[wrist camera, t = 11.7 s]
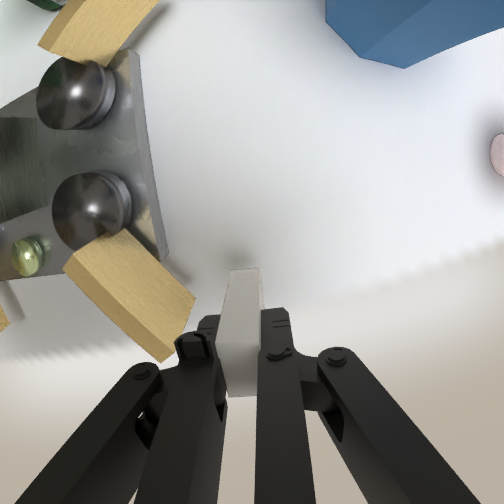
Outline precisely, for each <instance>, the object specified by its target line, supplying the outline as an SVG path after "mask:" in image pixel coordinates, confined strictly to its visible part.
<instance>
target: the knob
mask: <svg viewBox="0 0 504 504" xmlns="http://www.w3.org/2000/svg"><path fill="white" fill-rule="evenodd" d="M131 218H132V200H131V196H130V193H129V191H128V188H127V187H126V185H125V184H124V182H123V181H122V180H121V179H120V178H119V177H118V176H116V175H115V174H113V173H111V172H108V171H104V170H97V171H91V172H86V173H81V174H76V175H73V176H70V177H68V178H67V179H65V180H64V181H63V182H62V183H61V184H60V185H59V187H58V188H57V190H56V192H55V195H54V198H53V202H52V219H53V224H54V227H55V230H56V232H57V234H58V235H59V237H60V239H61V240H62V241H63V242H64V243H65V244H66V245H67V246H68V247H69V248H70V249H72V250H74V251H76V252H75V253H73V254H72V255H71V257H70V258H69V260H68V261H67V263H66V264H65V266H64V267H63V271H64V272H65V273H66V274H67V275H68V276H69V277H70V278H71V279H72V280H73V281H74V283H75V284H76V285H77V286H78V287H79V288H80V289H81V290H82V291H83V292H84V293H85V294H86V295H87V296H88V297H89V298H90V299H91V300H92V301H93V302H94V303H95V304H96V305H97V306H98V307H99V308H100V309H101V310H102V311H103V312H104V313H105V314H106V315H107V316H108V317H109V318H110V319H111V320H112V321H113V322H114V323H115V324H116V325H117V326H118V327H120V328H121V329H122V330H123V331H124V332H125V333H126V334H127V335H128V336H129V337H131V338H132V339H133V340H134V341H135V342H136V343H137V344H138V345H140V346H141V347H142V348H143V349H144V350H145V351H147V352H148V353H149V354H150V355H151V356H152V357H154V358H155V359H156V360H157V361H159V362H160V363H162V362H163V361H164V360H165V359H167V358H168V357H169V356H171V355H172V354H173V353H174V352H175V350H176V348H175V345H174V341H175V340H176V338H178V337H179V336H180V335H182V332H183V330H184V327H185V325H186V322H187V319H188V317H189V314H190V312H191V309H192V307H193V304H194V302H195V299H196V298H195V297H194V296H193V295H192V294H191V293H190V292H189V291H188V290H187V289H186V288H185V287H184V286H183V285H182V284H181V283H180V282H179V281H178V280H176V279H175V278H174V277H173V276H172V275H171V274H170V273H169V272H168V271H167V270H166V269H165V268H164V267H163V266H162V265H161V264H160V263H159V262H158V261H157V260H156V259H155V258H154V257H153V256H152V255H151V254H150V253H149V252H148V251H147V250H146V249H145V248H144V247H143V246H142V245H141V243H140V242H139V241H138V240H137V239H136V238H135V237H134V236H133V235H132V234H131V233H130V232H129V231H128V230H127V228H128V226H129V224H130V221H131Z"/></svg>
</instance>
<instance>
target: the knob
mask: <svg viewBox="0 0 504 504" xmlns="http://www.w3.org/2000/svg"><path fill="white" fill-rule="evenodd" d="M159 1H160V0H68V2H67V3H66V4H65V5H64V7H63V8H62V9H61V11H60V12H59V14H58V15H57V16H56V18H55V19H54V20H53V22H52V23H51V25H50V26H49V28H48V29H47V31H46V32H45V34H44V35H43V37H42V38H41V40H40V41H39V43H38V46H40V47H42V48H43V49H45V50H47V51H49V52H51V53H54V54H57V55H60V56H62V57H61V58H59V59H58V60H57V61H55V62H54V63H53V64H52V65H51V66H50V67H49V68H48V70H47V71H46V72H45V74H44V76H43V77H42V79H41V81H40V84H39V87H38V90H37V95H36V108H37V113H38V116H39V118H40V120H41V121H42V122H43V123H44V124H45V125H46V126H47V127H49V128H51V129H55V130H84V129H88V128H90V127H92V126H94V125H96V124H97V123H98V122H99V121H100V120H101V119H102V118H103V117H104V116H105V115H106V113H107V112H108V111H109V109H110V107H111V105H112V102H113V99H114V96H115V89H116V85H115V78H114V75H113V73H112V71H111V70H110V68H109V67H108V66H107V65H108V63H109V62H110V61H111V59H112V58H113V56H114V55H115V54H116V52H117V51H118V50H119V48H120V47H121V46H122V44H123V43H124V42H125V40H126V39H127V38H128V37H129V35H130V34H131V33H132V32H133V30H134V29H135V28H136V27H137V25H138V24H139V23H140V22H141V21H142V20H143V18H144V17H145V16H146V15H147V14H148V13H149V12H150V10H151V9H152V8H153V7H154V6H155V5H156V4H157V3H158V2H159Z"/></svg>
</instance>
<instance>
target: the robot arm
mask: <svg viewBox="0 0 504 504" xmlns="http://www.w3.org/2000/svg"><path fill="white" fill-rule="evenodd" d="M174 345H175V348H176V351H177V354H178V358H179V363H178V365H177V366H175V367H172V368H168V369H164V370H159V368H158V366H157V365H156V364H154V363H151V362H143V363H138V364H136V365H134V366H132V367H131V368H130V369H128V371H127V372H126V373H125V374H124V375H123V376H122V377H121V378H120V380H119V381H118V382H117V383H116V384H115V385H114V387H113V388H112V389H111V390H110V391H109V392H108V393H107V395H106V396H105V397H104V398H103V399H102V401H101V402H100V403H99V404H98V405H97V406H96V407H95V408H94V410H93V411H92V412H91V413H90V414H89V415H88V417H87V418H86V419H85V420H84V421H83V422H82V424H81V425H80V426H79V427H78V428H77V429H76V431H75V432H74V433H73V434H72V435H71V437H70V438H69V439H68V440H67V441H66V443H65V444H64V445H63V446H62V447H61V448H60V450H59V451H58V452H57V453H56V454H55V455H54V457H53V458H52V459H51V460H50V461H49V463H48V464H47V465H46V466H45V467H44V469H43V470H42V471H41V472H40V473H39V475H38V476H37V477H36V478H35V479H34V481H33V482H32V483H31V484H30V485H29V487H28V488H27V489H26V490H25V491H24V493H23V494H22V495H21V496H20V498H19V499H18V500H17V501H16V503H15V504H128V503H129V501H130V500H131V498H132V496H133V495H134V493H135V492H136V490H137V488H138V491H137V494H136V497H135V501H134V504H217V499H218V490H219V481H220V471H221V462H222V452H223V444H224V435H225V426H226V417H227V409H228V406H227V401H226V398H225V396H226V389H227V393H228V397H244V396H257V417H256V459H255V496H254V504H316V499H315V491H314V482H313V474H312V465H311V457H310V450H309V442H308V435H307V427H306V419H305V413H304V410H310V411H318V415H319V417H320V419H321V420H322V422H323V424H324V426H325V427H326V429H327V431H328V433H329V435H330V437H331V438H332V440H333V442H334V444H335V445H336V447H337V449H338V451H339V453H340V454H341V456H342V458H343V460H344V462H345V464H346V465H347V467H348V469H349V471H350V472H351V474H352V476H353V478H354V479H355V481H356V483H357V485H358V486H359V488H360V490H361V492H362V493H363V495H364V497H365V499H366V500H367V502H368V504H481V503H480V502H479V501H478V500H477V498H476V497H475V496H474V495H473V494H472V492H471V491H470V490H469V489H468V487H467V486H466V485H465V484H464V483H463V481H462V480H461V479H460V478H459V477H458V475H457V474H456V473H455V472H454V470H453V469H452V468H451V467H450V466H449V464H448V463H447V462H446V461H445V460H444V458H443V457H442V456H441V455H440V454H439V452H438V451H437V450H436V449H435V448H434V446H433V445H432V444H431V443H430V442H429V440H428V439H427V438H426V437H425V436H424V435H423V433H422V432H421V431H420V430H419V428H418V427H417V426H416V425H415V424H414V423H413V421H412V420H411V419H410V418H409V417H408V416H407V414H406V413H405V412H404V411H403V410H402V408H401V407H400V406H399V405H398V404H397V402H396V401H395V400H394V399H393V398H392V397H391V395H390V394H389V393H388V392H387V391H386V390H385V388H384V387H383V386H382V385H381V384H380V382H379V381H378V380H377V379H376V378H375V377H374V375H373V374H372V373H371V372H370V371H369V370H368V368H367V367H366V366H365V365H364V364H363V362H362V361H361V360H360V359H359V358H358V357H357V356H356V354H355V353H354V352H352V351H351V350H350V349H347V348H344V347H332V348H328V349H326V350H324V351H322V352H321V353H320V354H319V355H318V357H311V356H305V355H302V354H300V353H299V352H297V350H296V349H295V348H294V345H293V338H292V332H291V325H290V319H289V313H288V312H287V311H286V310H285V309H284V308H283V307H282V308H273V309H265V308H264V300H263V293H262V285H261V277H260V270H259V267H257V268H248V269H239V270H231V273H230V278H229V282H228V286H227V291H226V295H225V300H224V304H223V309H222V313H221V314H220V315H208V316H205V317H204V318H203V319H202V320H201V321H200V322H199V325H198V328H197V331H193V332H187V333H185V334H182V335H180V336H179V337H178V338H176V340H175V341H174ZM141 413H143V414H142V415H141V416H140V414H141ZM139 416H140V417H139ZM138 417H139V418H138Z"/></svg>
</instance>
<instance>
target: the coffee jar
mask: <svg viewBox="0 0 504 504" xmlns="http://www.w3.org/2000/svg"><path fill="white" fill-rule="evenodd" d="M28 1H29V2H31V3H33V4H35V5H37V6H39V7H40V8H42V9H45V10H52V9H56V8H59V7H61V6H64V5H65V4H66V3H67V2H68V0H28Z"/></svg>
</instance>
